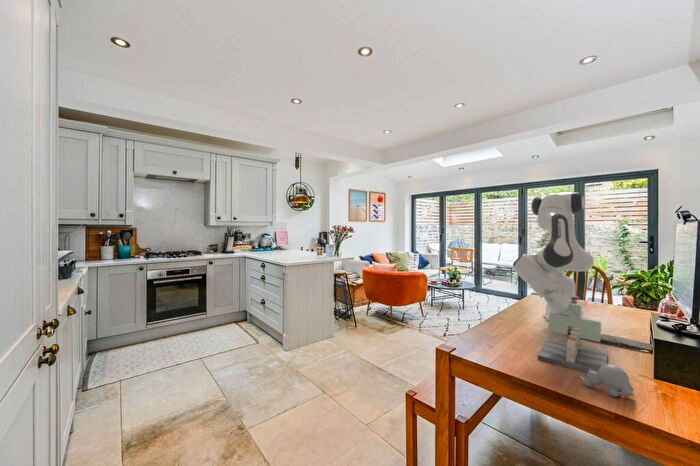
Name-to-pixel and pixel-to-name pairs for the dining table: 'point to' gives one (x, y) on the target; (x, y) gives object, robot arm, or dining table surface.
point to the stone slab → (621, 342)
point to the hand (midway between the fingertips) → (576, 317)
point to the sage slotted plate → (575, 324)
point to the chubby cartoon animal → (610, 380)
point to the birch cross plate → (573, 353)
